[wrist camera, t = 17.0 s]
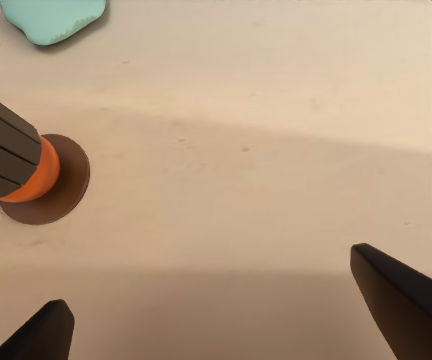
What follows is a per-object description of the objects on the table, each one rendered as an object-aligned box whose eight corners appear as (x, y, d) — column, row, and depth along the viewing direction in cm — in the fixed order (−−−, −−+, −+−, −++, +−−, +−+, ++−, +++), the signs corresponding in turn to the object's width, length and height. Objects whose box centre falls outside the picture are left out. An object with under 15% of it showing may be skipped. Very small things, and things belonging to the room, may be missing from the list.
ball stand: (92, 215, 24) (46, 197, 19) (-3, 233, 25) (-76, 221, 19) (88, 128, 27) (46, 89, 21) (1, 145, 27) (-63, 111, 21)
